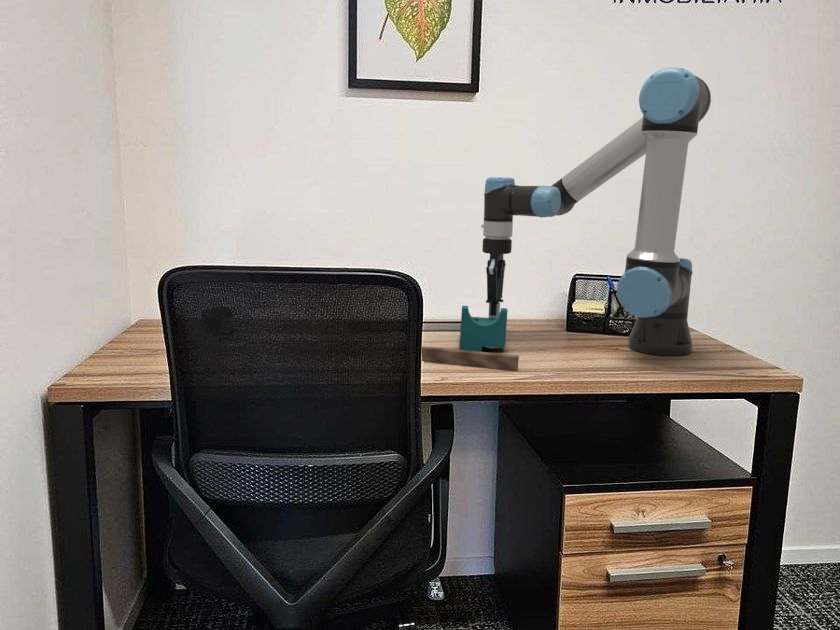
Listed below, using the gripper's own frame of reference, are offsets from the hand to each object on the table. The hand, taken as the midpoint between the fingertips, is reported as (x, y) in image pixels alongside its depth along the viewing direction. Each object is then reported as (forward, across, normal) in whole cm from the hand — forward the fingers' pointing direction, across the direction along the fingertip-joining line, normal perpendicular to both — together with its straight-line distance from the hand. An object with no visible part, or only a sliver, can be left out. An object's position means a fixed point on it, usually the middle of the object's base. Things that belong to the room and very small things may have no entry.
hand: (493, 326), depth 184 cm
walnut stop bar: (+2, +32, +1) cm, 32 cm away
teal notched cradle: (+3, +10, -1) cm, 11 cm away
